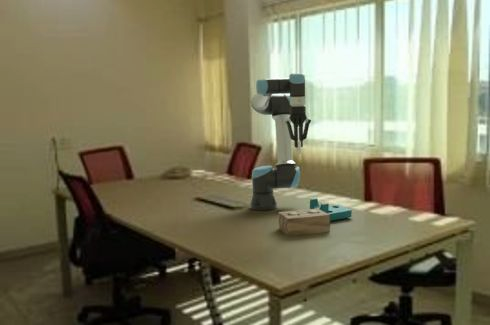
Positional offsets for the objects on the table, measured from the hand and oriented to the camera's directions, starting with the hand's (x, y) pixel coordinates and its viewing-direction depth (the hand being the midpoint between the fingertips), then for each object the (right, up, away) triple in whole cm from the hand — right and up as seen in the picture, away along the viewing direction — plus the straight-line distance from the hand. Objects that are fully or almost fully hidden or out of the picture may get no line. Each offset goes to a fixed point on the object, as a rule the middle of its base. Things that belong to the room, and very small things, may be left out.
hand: (298, 154), depth 259 cm
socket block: (+1, -36, -10) cm, 37 cm away
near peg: (-4, -36, -12) cm, 38 cm away
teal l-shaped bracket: (+17, -33, +9) cm, 38 cm away
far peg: (+6, -35, -9) cm, 37 cm away
